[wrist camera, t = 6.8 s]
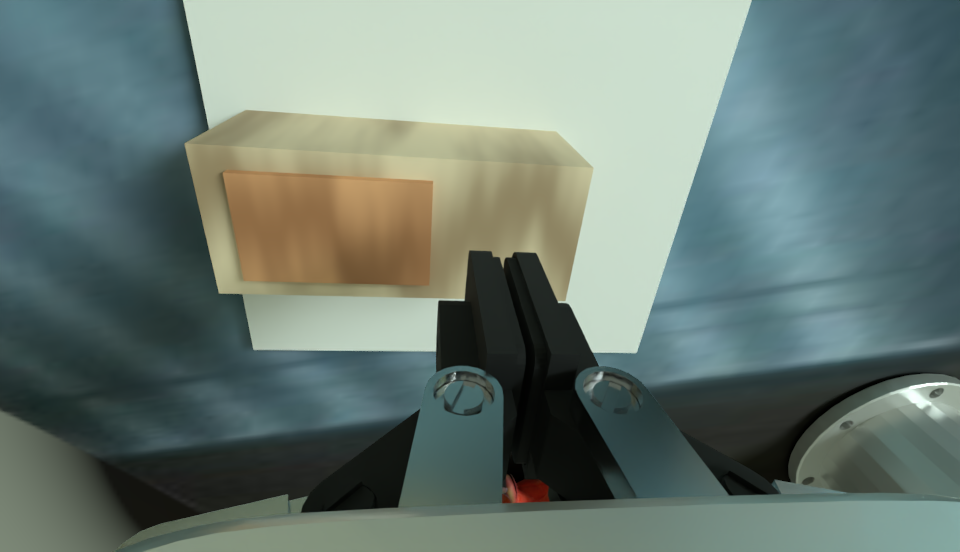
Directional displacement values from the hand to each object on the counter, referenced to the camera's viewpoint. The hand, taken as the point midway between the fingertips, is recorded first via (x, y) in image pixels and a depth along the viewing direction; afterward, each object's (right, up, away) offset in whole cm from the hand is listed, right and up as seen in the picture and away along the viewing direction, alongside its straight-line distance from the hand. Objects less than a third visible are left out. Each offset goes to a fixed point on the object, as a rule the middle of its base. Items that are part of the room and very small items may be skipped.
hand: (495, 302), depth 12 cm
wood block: (+3, +3, +6) cm, 7 cm away
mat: (-1, +5, +8) cm, 10 cm away
